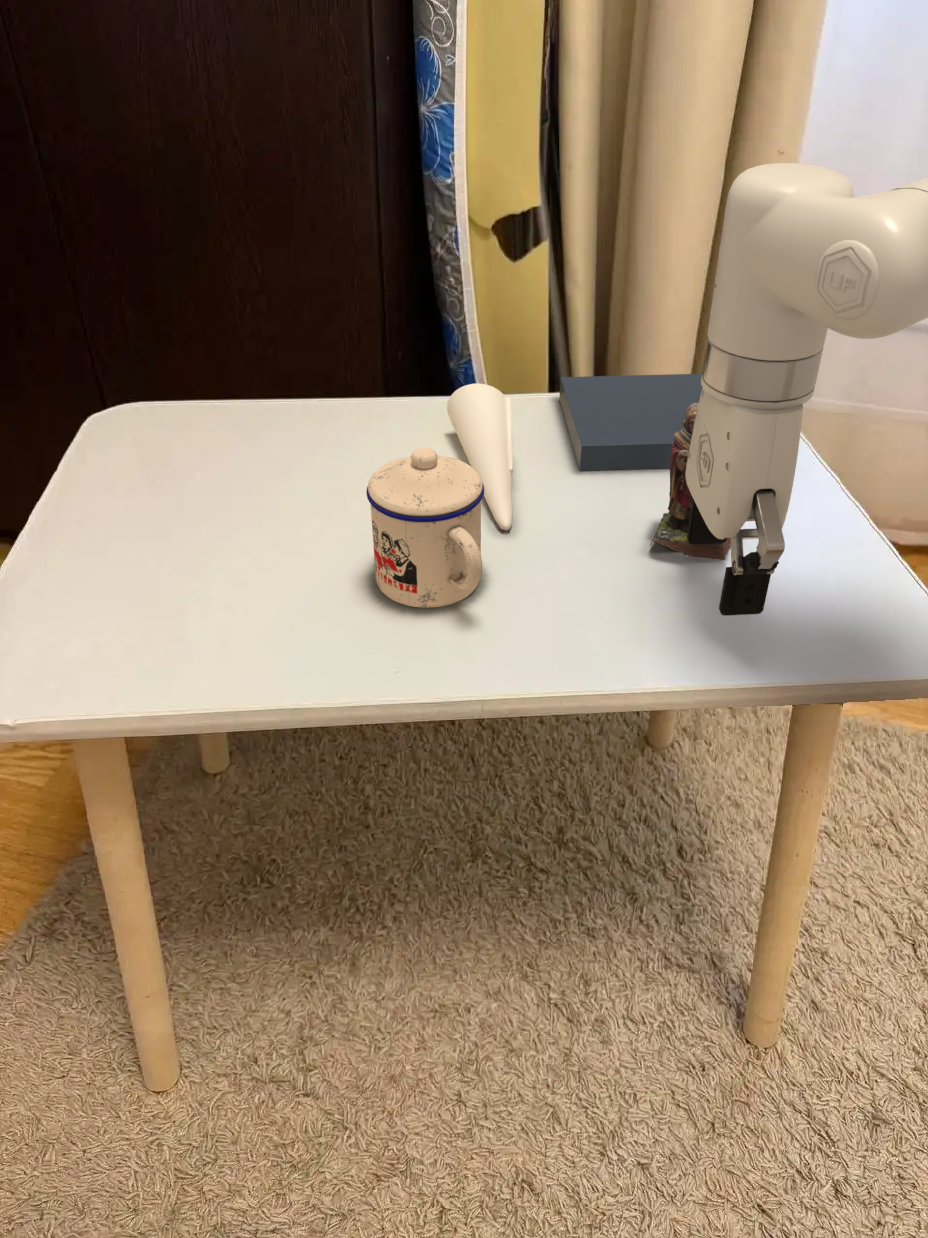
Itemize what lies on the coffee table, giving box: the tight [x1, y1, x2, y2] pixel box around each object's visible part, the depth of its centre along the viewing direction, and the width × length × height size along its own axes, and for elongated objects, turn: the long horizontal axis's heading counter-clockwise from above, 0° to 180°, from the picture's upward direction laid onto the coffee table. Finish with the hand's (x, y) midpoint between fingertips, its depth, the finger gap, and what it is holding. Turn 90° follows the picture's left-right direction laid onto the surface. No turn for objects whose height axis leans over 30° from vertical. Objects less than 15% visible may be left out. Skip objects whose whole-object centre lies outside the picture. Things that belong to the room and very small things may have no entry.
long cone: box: [446, 383, 514, 531], centre depth 94 cm, size 6×6×19 cm
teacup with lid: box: [366, 447, 484, 609], centre depth 77 cm, size 12×9×12 cm
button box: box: [558, 373, 703, 472], centre depth 101 cm, size 17×17×4 cm
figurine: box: [649, 403, 731, 561], centre depth 82 cm, size 6×6×12 cm
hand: (722, 575), depth 77 cm, fingers open, 9 cm apart
